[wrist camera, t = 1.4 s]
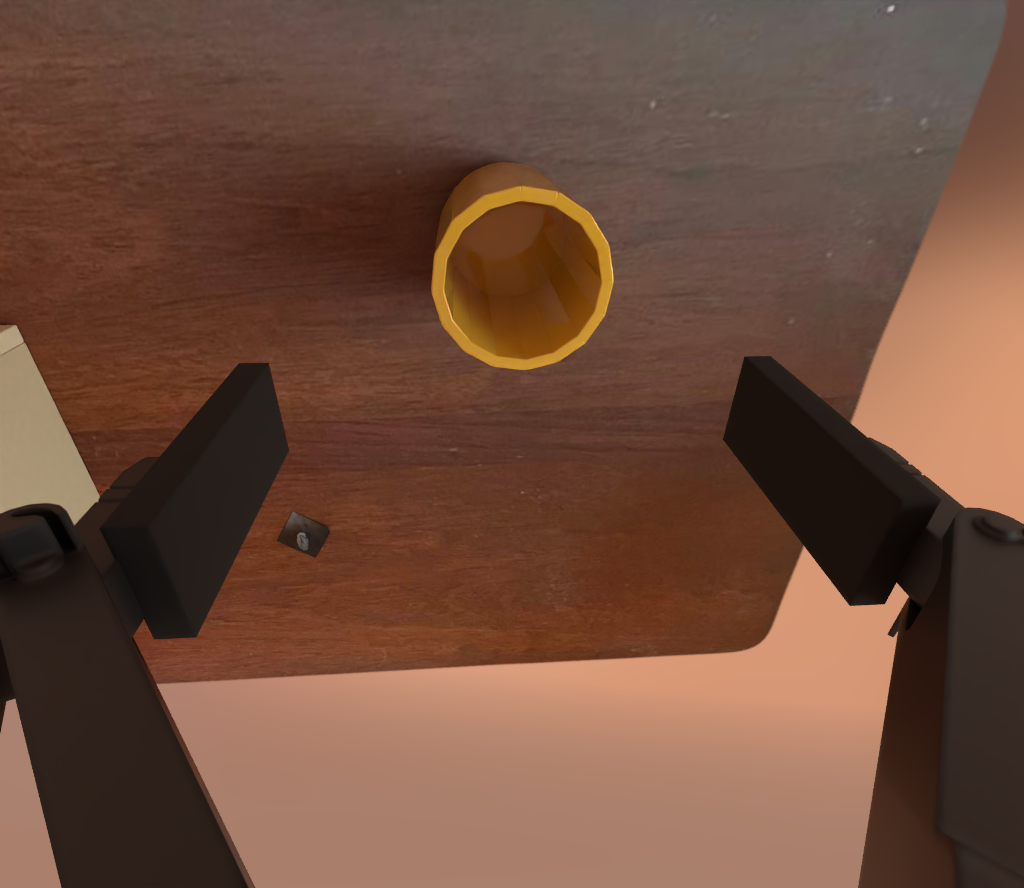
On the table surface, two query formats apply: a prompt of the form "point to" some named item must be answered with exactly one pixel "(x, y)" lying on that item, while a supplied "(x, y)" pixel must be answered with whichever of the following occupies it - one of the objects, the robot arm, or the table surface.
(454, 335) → the cup
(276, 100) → the table surface
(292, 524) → the dark square tile
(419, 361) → the table surface
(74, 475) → the shelf
